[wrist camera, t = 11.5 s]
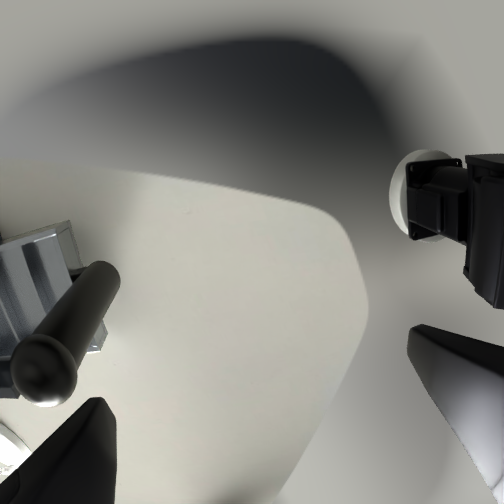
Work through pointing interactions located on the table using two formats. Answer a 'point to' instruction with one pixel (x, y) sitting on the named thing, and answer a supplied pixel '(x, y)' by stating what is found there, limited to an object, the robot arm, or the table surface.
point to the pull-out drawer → (51, 311)
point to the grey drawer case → (7, 379)
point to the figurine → (11, 450)
